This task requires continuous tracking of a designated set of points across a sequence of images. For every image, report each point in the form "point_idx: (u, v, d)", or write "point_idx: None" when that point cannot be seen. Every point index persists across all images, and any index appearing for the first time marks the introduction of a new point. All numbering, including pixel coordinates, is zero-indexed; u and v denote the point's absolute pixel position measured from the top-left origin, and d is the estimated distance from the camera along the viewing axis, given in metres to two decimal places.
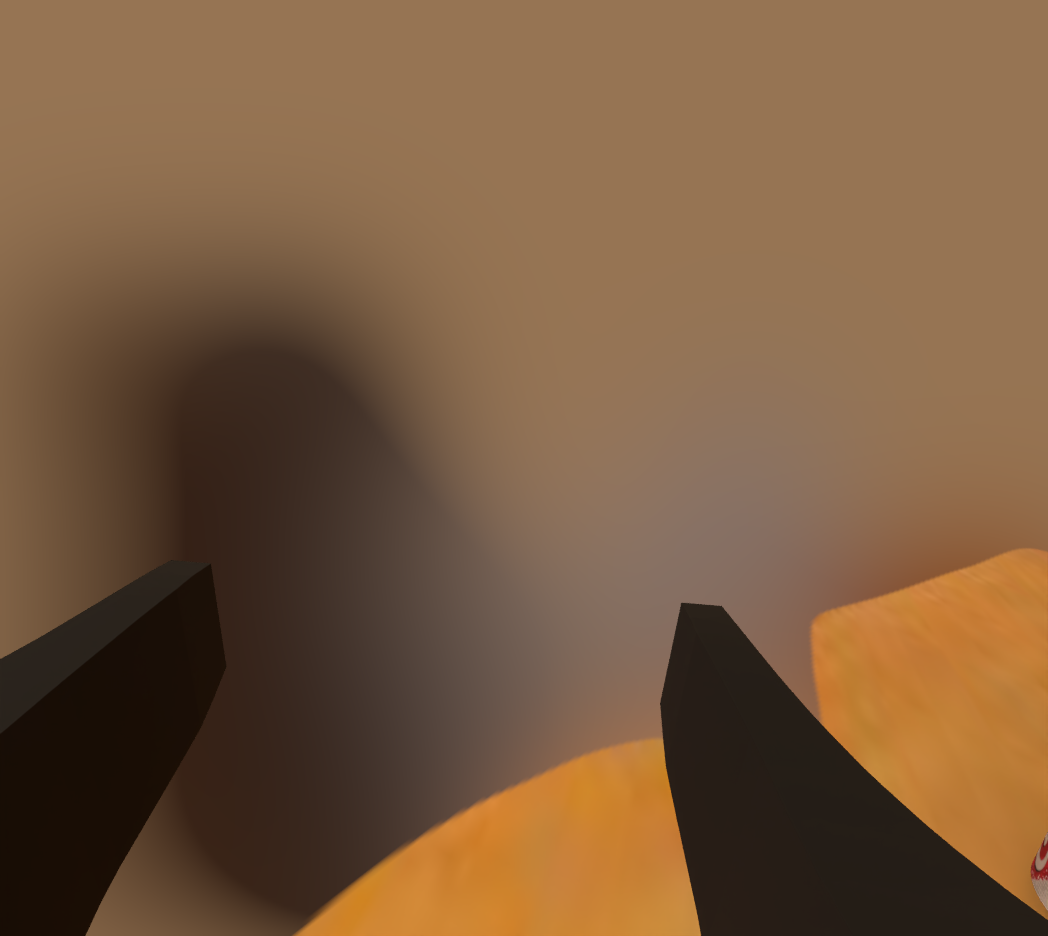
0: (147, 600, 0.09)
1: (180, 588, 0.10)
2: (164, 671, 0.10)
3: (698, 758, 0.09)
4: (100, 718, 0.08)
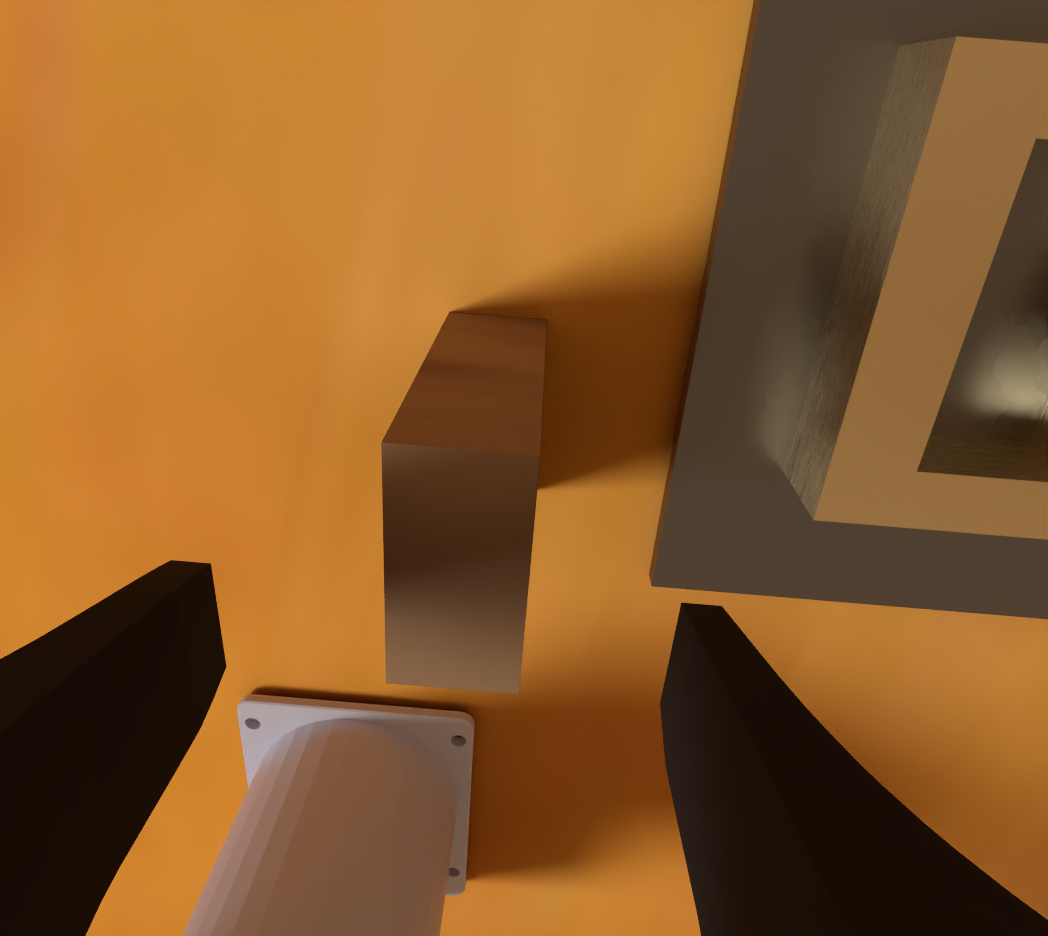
0: (147, 600, 0.09)
1: (180, 588, 0.10)
2: (164, 671, 0.10)
3: (698, 758, 0.09)
4: (100, 718, 0.08)
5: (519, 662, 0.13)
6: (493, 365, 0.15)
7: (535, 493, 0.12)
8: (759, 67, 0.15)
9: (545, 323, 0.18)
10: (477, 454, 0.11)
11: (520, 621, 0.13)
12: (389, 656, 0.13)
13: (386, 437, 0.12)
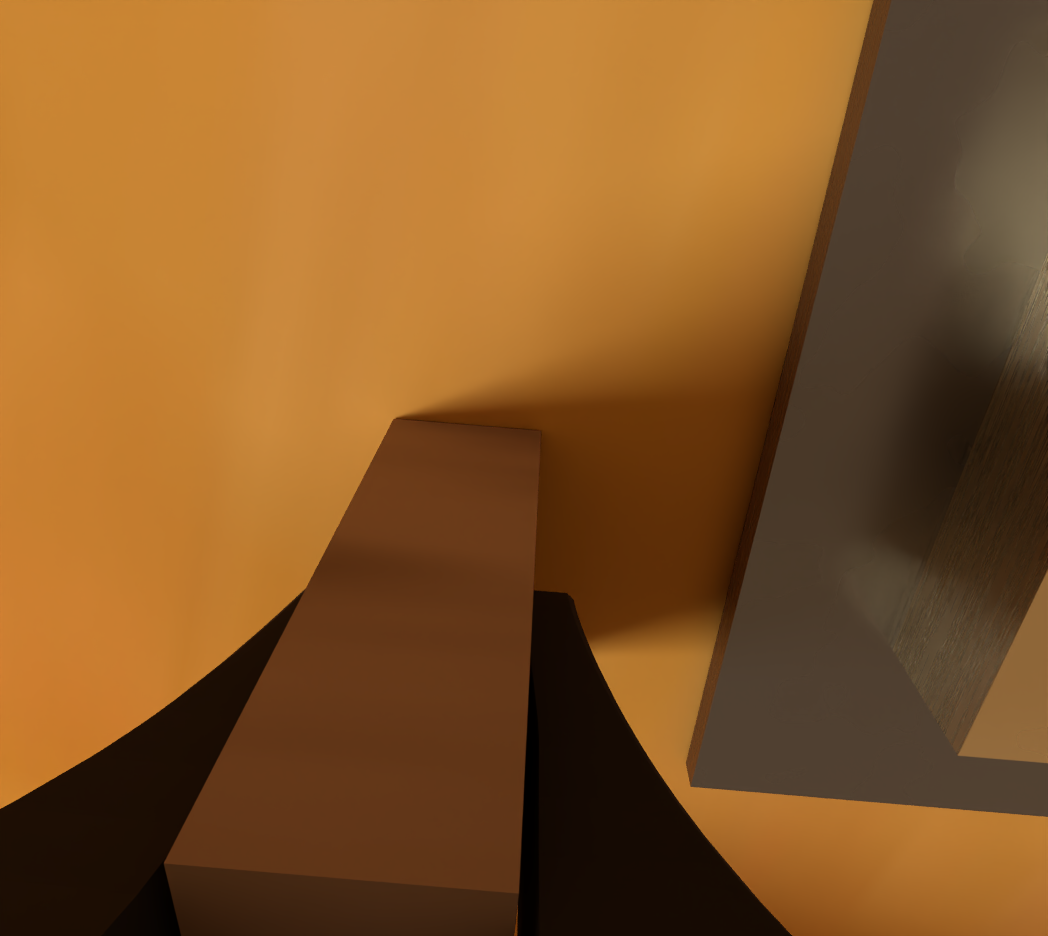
0: None
1: None
2: None
3: None
4: None
5: None
6: (447, 555, 0.09)
7: None
8: (900, 42, 0.09)
9: (539, 439, 0.12)
10: (379, 888, 0.05)
11: None
12: None
13: (181, 836, 0.05)
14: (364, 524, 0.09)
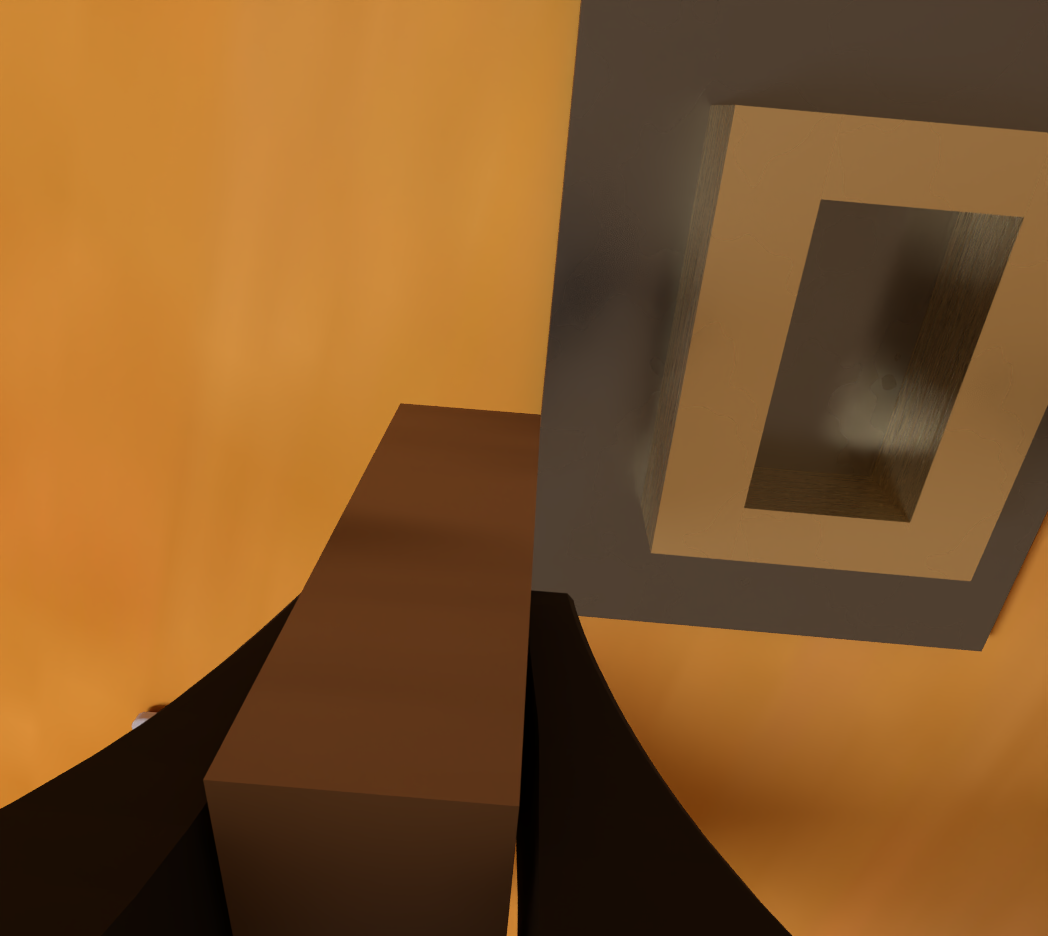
0: None
1: None
2: None
3: (523, 743, 0.09)
4: None
5: None
6: (452, 524, 0.09)
7: (511, 862, 0.06)
8: (580, 123, 0.16)
9: (538, 422, 0.12)
10: (395, 802, 0.06)
11: None
12: None
13: (218, 758, 0.06)
14: (374, 497, 0.10)
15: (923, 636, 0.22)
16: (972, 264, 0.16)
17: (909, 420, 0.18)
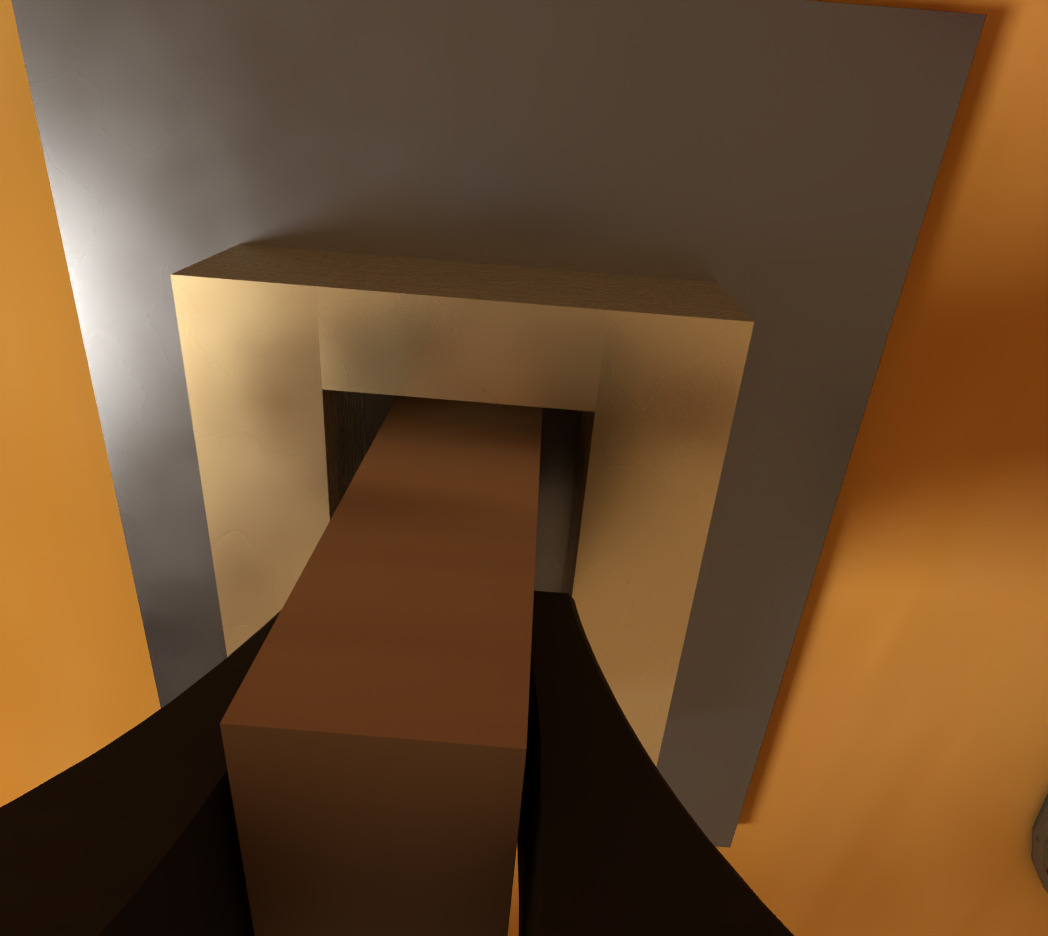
0: None
1: None
2: None
3: None
4: None
5: None
6: (457, 494, 0.10)
7: (518, 806, 0.06)
8: (81, 266, 0.12)
9: None
10: (406, 746, 0.06)
11: None
12: None
13: (234, 705, 0.06)
14: (381, 469, 0.10)
15: None
16: (584, 447, 0.12)
17: None
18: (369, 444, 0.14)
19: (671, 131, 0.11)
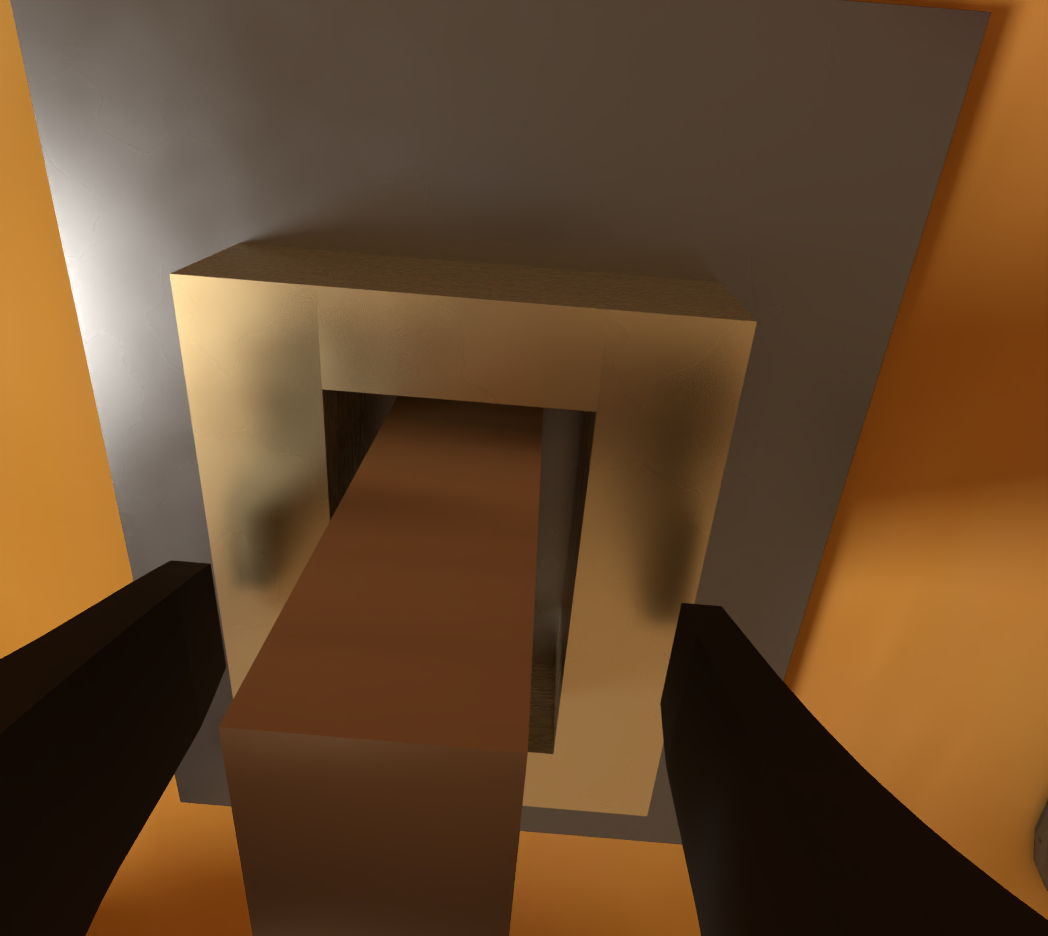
0: (147, 600, 0.09)
1: (180, 588, 0.10)
2: (164, 671, 0.10)
3: (698, 758, 0.09)
4: (100, 718, 0.08)
5: None
6: (458, 495, 0.09)
7: (519, 810, 0.06)
8: (80, 265, 0.12)
9: None
10: (406, 750, 0.06)
11: None
12: None
13: (231, 707, 0.06)
14: (381, 469, 0.10)
15: (659, 832, 0.18)
16: (585, 447, 0.12)
17: (563, 618, 0.14)
18: (370, 445, 0.14)
19: (673, 129, 0.11)
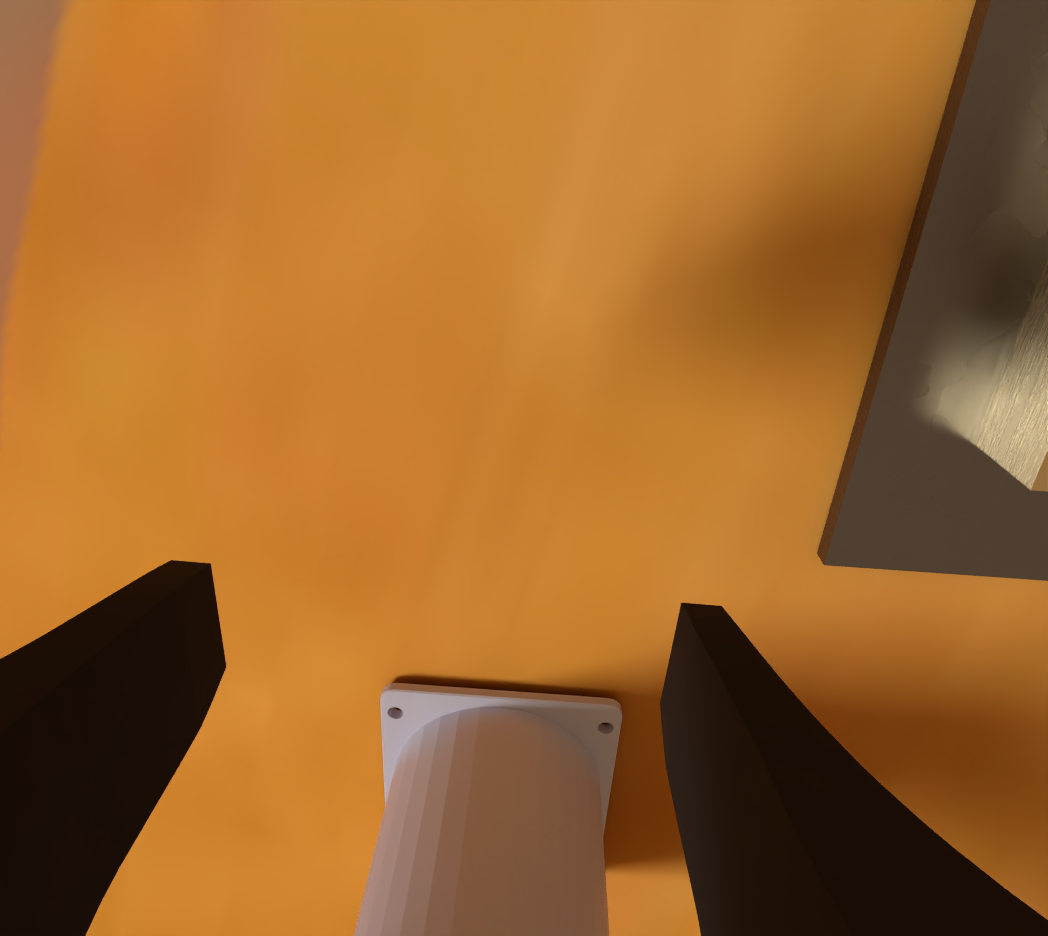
0: (147, 600, 0.09)
1: (180, 588, 0.10)
2: (164, 671, 0.10)
3: (698, 758, 0.09)
4: (100, 718, 0.08)
5: None
6: None
7: None
8: (998, 15, 0.15)
9: None
10: None
11: None
12: None
13: None
14: None
15: None
16: None
17: None
18: None
19: None
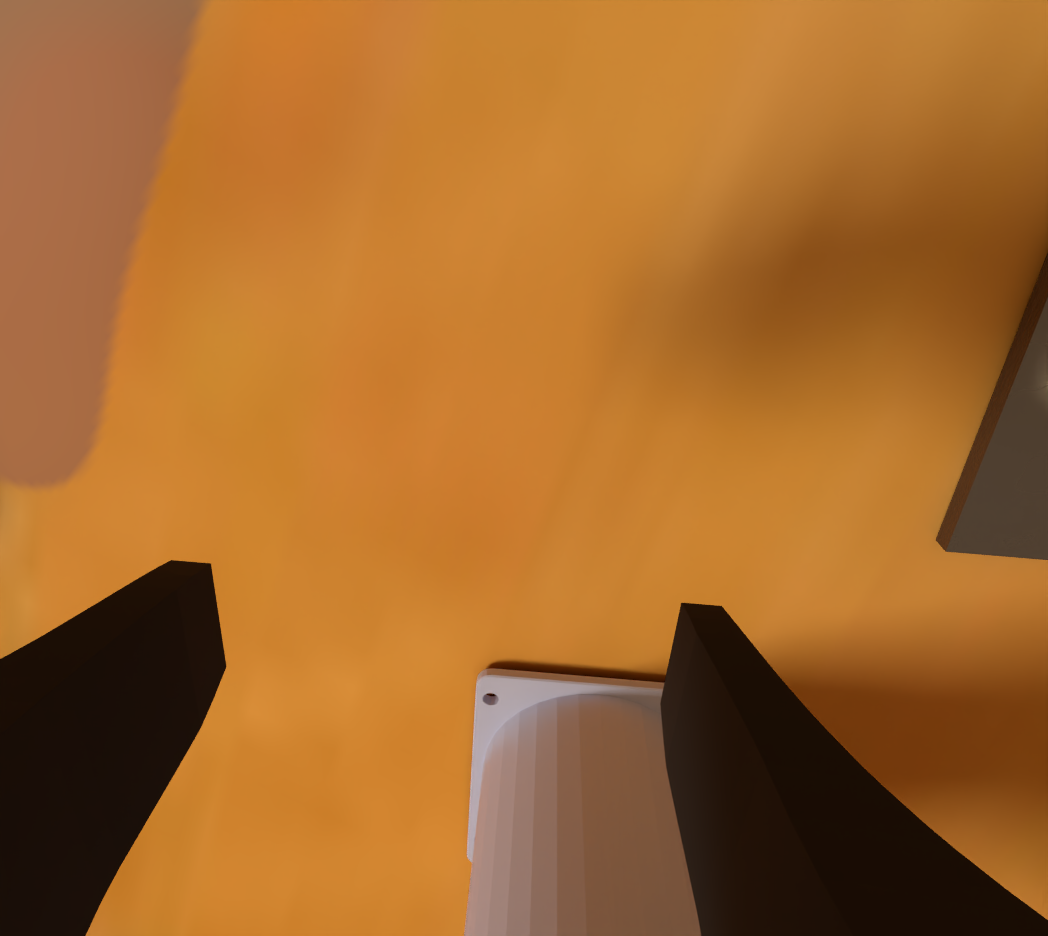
0: (147, 600, 0.09)
1: (180, 588, 0.10)
2: (164, 671, 0.10)
3: (698, 758, 0.09)
4: (100, 718, 0.08)
5: None
6: None
7: None
8: None
9: None
10: None
11: None
12: None
13: None
14: None
15: None
16: None
17: None
18: None
19: None
